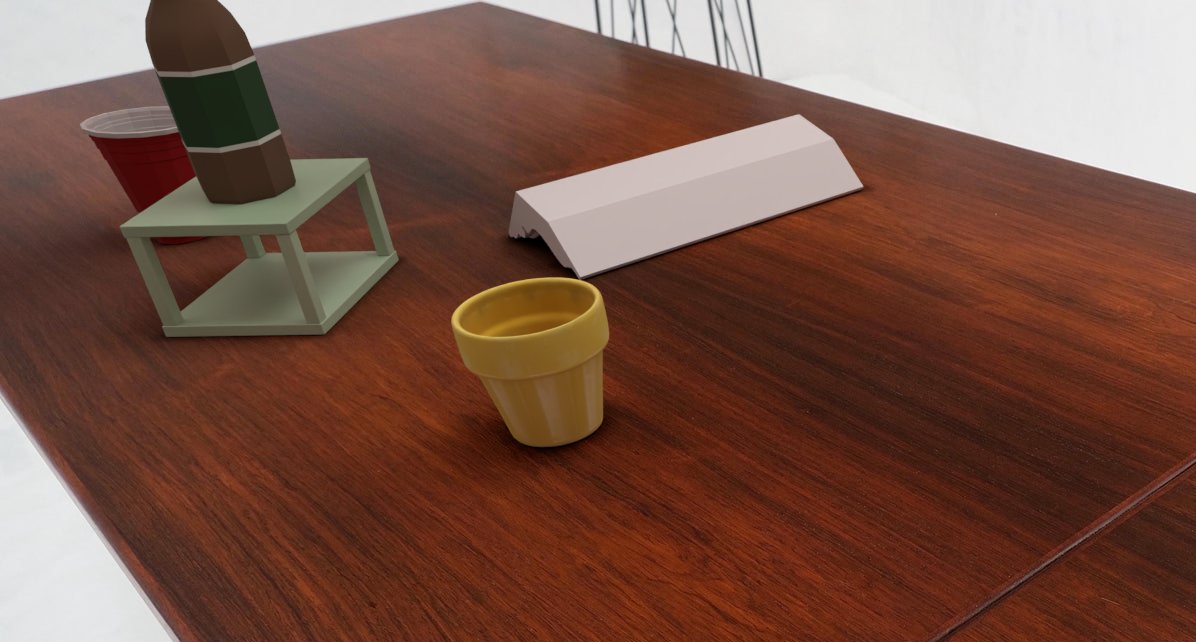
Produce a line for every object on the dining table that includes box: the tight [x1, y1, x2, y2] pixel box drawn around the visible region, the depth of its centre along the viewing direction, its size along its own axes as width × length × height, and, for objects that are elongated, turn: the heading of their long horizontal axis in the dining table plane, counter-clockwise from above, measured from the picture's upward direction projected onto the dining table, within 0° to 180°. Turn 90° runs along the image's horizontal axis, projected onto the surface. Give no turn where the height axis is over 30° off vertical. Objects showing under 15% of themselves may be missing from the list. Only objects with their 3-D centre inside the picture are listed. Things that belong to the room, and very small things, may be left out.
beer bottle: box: [144, 0, 296, 204], centre depth 104 cm, size 8×8×24 cm
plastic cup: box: [79, 105, 209, 245], centre depth 127 cm, size 11×11×12 cm
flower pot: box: [450, 277, 610, 448], centre depth 93 cm, size 10×10×10 cm
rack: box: [119, 157, 400, 338], centre depth 114 cm, size 14×16×10 cm
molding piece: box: [507, 113, 865, 281], centre depth 131 cm, size 32×12×10 cm
